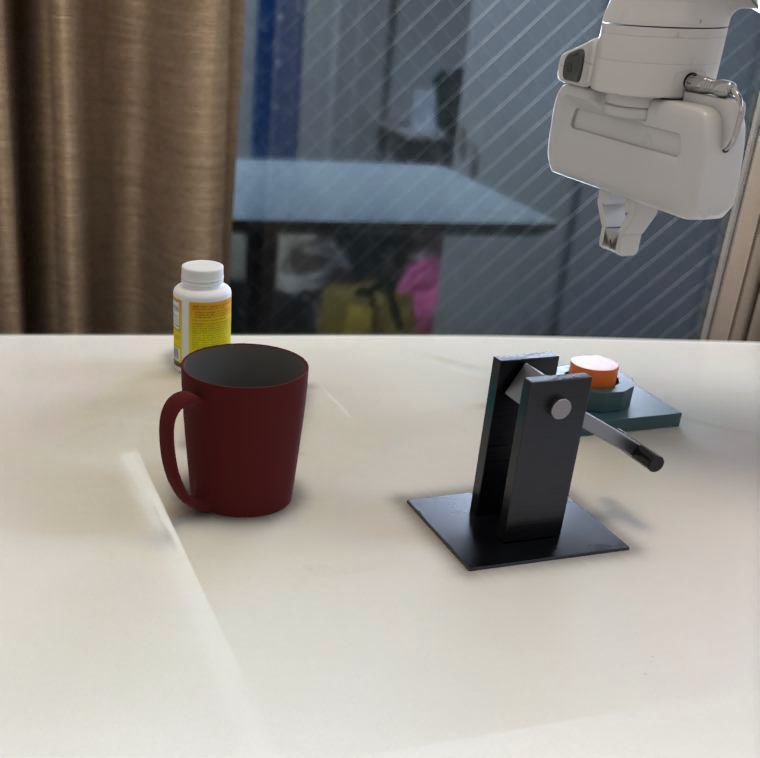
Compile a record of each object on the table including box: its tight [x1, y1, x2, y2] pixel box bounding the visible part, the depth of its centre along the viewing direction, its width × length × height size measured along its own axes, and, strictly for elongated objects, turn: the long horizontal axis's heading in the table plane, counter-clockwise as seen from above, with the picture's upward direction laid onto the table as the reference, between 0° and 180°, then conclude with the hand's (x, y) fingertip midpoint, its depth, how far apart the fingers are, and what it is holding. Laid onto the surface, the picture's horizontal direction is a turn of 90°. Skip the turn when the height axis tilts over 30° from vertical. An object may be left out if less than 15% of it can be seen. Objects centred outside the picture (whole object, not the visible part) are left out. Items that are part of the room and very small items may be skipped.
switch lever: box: [505, 363, 665, 473], centre depth 71 cm, size 12×5×2 cm, turn 105°
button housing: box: [556, 364, 683, 437], centre depth 92 cm, size 12×10×4 cm
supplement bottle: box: [172, 259, 233, 373], centre depth 100 cm, size 6×6×10 cm
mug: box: [158, 342, 310, 519], centre depth 74 cm, size 12×9×11 cm
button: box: [568, 354, 620, 388], centre depth 90 cm, size 4×4×2 cm
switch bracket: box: [406, 351, 630, 572], centre depth 71 cm, size 12×10×13 cm
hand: (617, 251), depth 85 cm, fingers closed
